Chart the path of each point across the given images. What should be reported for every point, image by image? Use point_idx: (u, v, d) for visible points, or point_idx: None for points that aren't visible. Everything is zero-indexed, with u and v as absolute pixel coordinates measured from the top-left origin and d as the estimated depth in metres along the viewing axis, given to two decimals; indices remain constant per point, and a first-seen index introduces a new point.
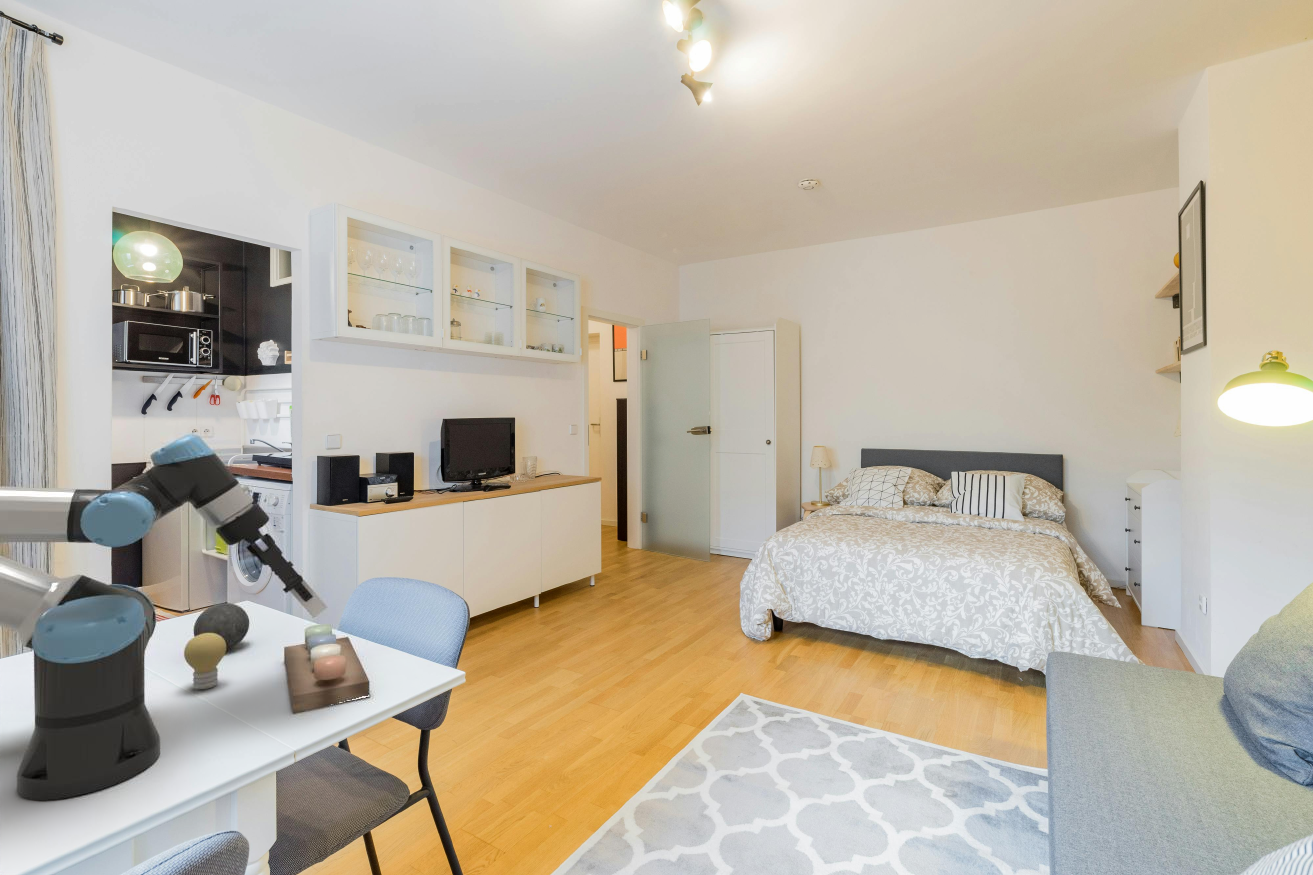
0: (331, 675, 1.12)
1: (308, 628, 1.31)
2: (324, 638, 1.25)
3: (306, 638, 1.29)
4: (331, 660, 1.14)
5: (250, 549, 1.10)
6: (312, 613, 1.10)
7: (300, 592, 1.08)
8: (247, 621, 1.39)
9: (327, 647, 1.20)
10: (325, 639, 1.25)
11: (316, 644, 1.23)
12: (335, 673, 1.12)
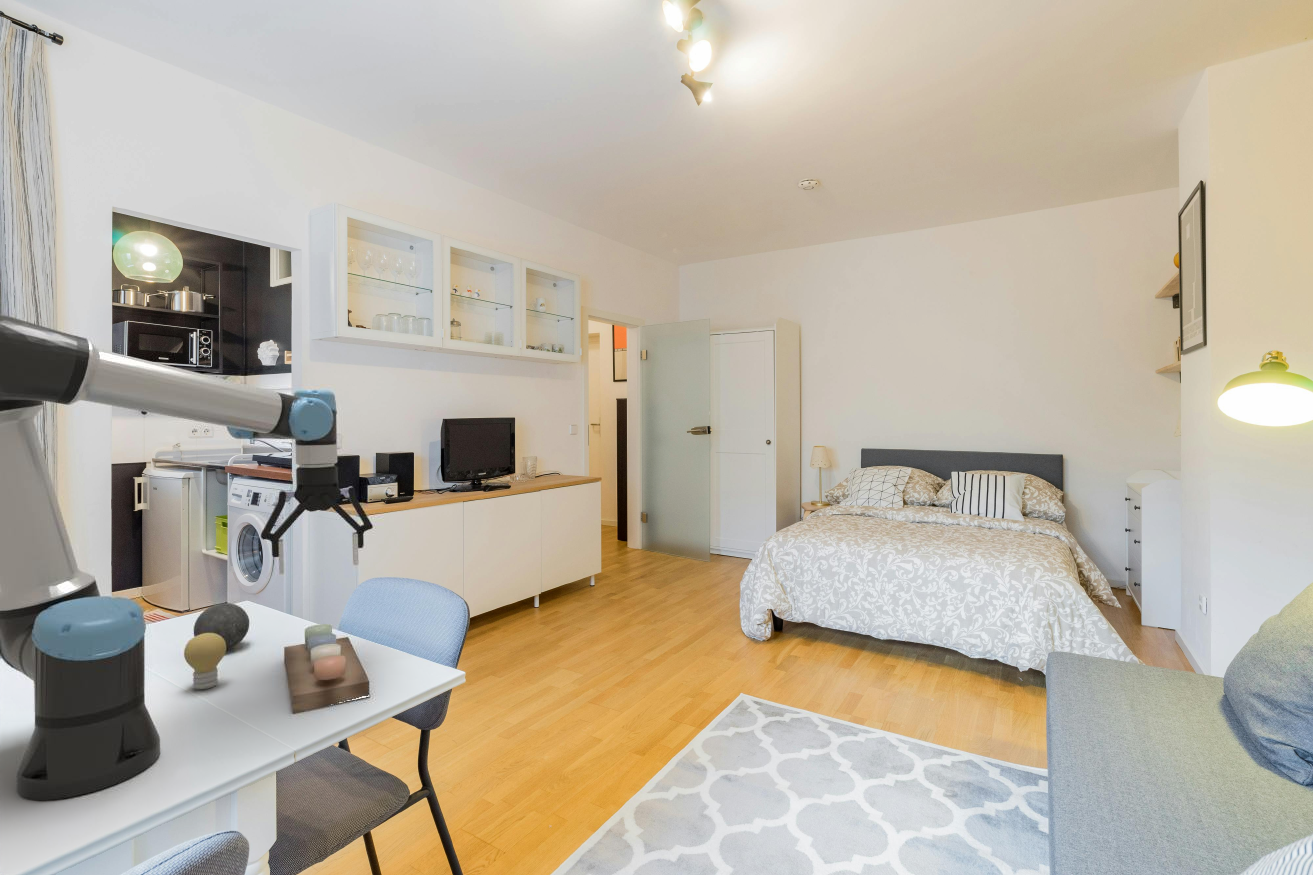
0: (331, 675, 1.12)
1: (308, 628, 1.31)
2: (324, 638, 1.25)
3: (306, 638, 1.29)
4: (331, 660, 1.14)
5: (328, 495, 1.30)
6: None
7: None
8: (247, 621, 1.39)
9: (327, 647, 1.20)
10: (325, 639, 1.25)
11: (316, 644, 1.23)
12: (335, 673, 1.12)
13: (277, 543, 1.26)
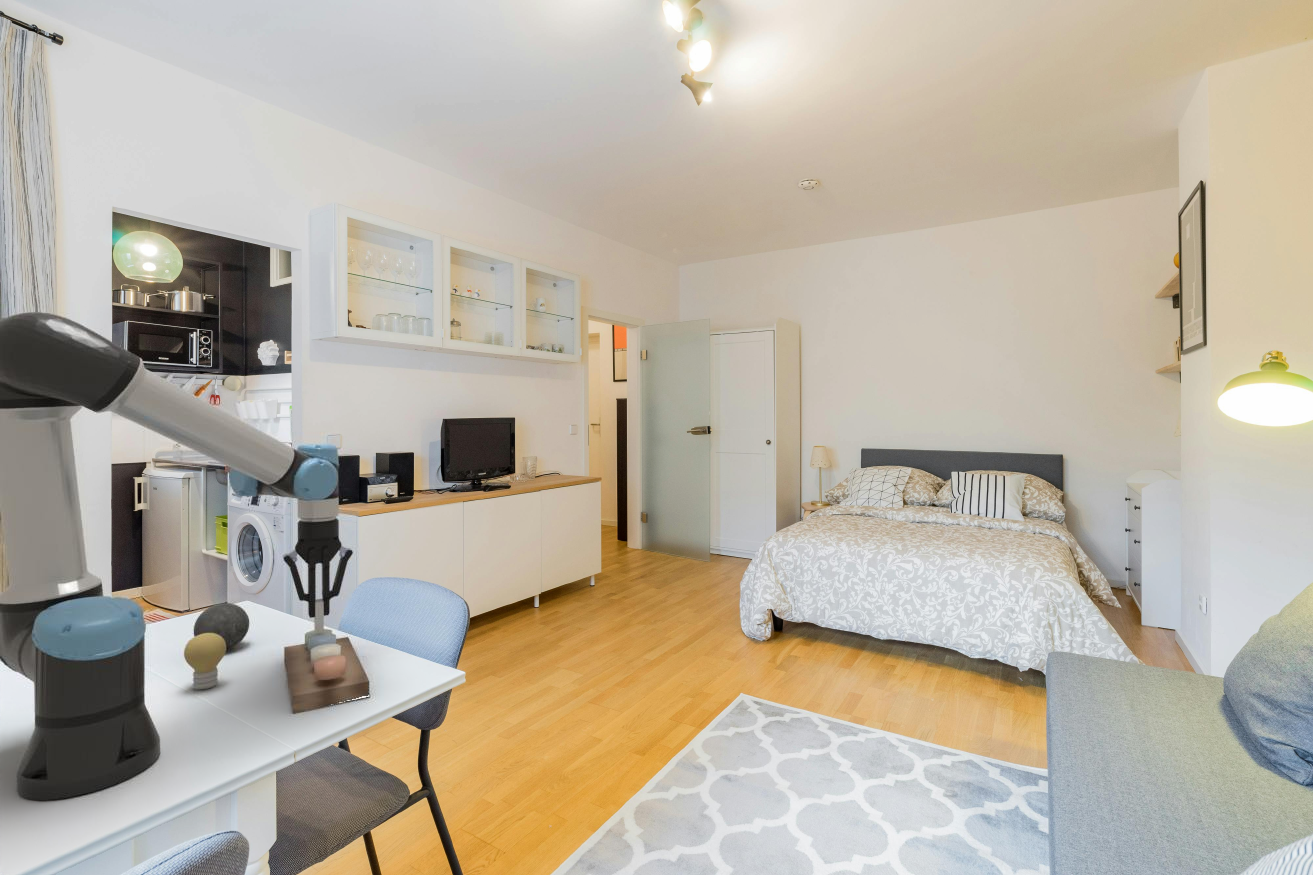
0: (331, 675, 1.12)
1: (308, 633, 1.31)
2: (324, 638, 1.25)
3: (306, 643, 1.29)
4: (331, 660, 1.14)
5: (329, 550, 1.31)
6: (323, 628, 1.31)
7: None
8: (247, 621, 1.39)
9: (327, 647, 1.20)
10: (325, 639, 1.25)
11: (316, 644, 1.23)
12: (335, 673, 1.12)
13: (314, 604, 1.30)
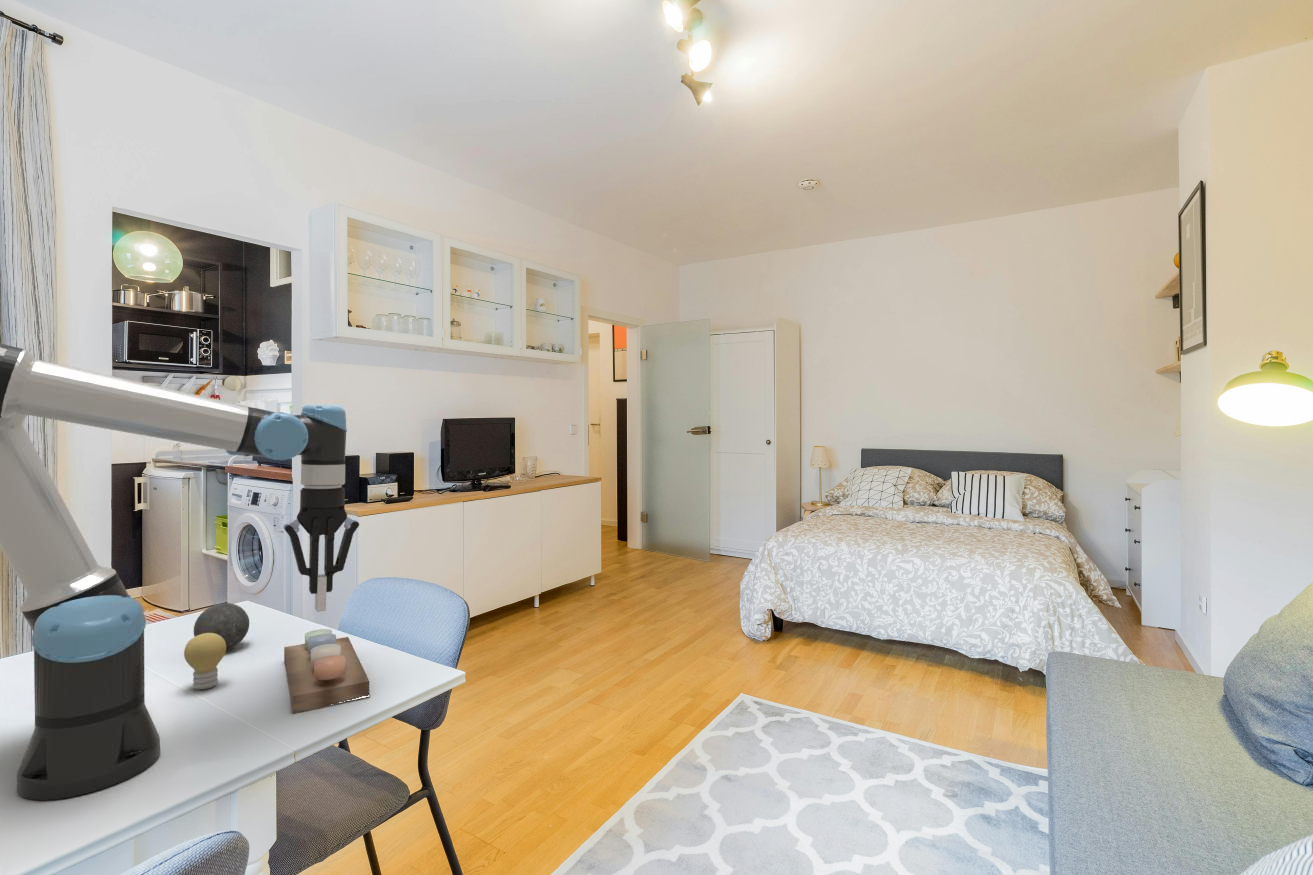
0: (331, 675, 1.12)
1: (308, 633, 1.31)
2: (324, 638, 1.25)
3: (306, 643, 1.29)
4: (331, 660, 1.14)
5: (334, 520, 1.21)
6: (325, 606, 1.21)
7: None
8: (247, 621, 1.39)
9: (327, 647, 1.20)
10: (325, 639, 1.25)
11: (316, 644, 1.23)
12: (335, 673, 1.12)
13: (316, 579, 1.20)
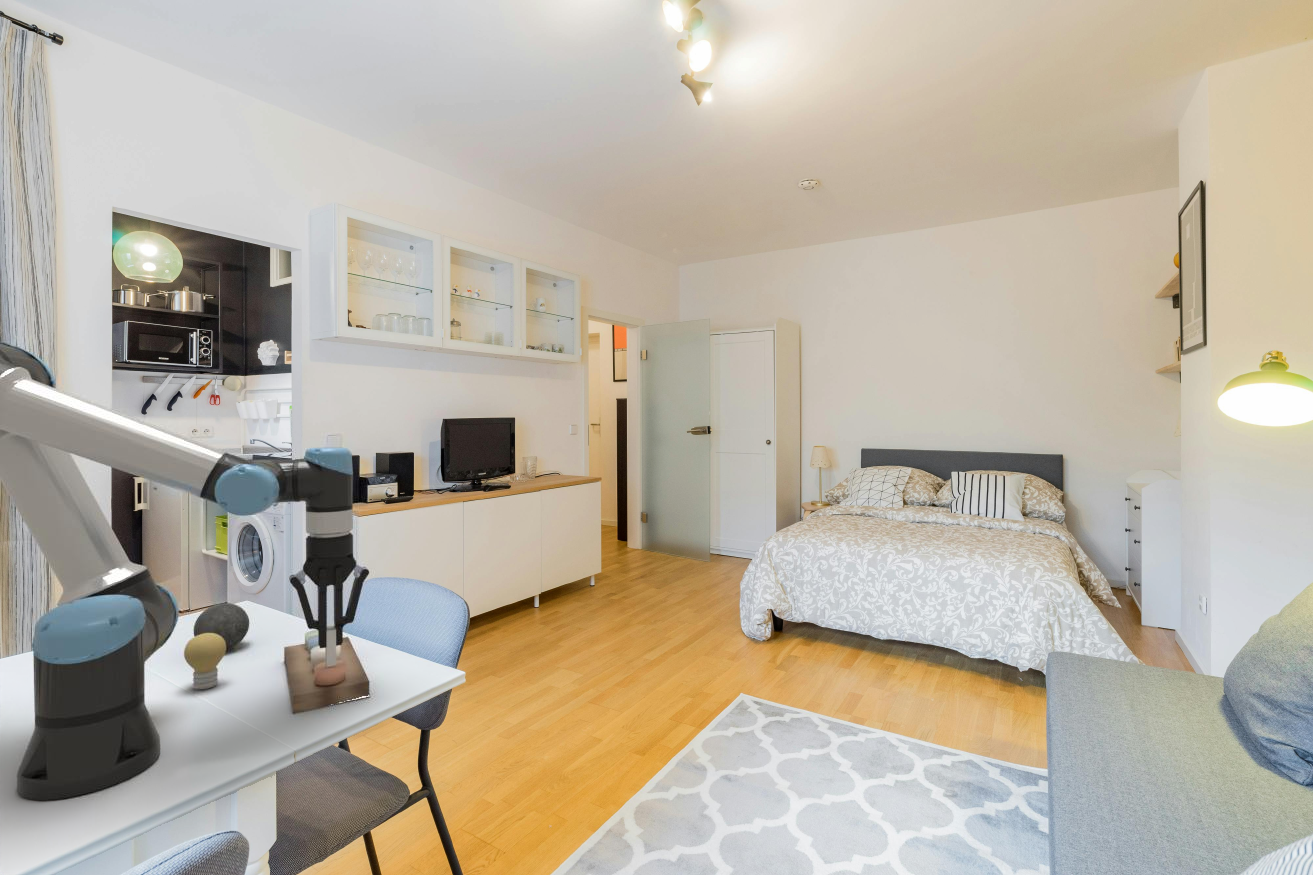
0: (331, 681, 1.12)
1: (308, 633, 1.31)
2: None
3: (306, 643, 1.29)
4: None
5: (342, 570, 1.13)
6: None
7: None
8: (247, 621, 1.39)
9: None
10: None
11: (316, 644, 1.23)
12: (335, 679, 1.12)
13: (325, 632, 1.13)
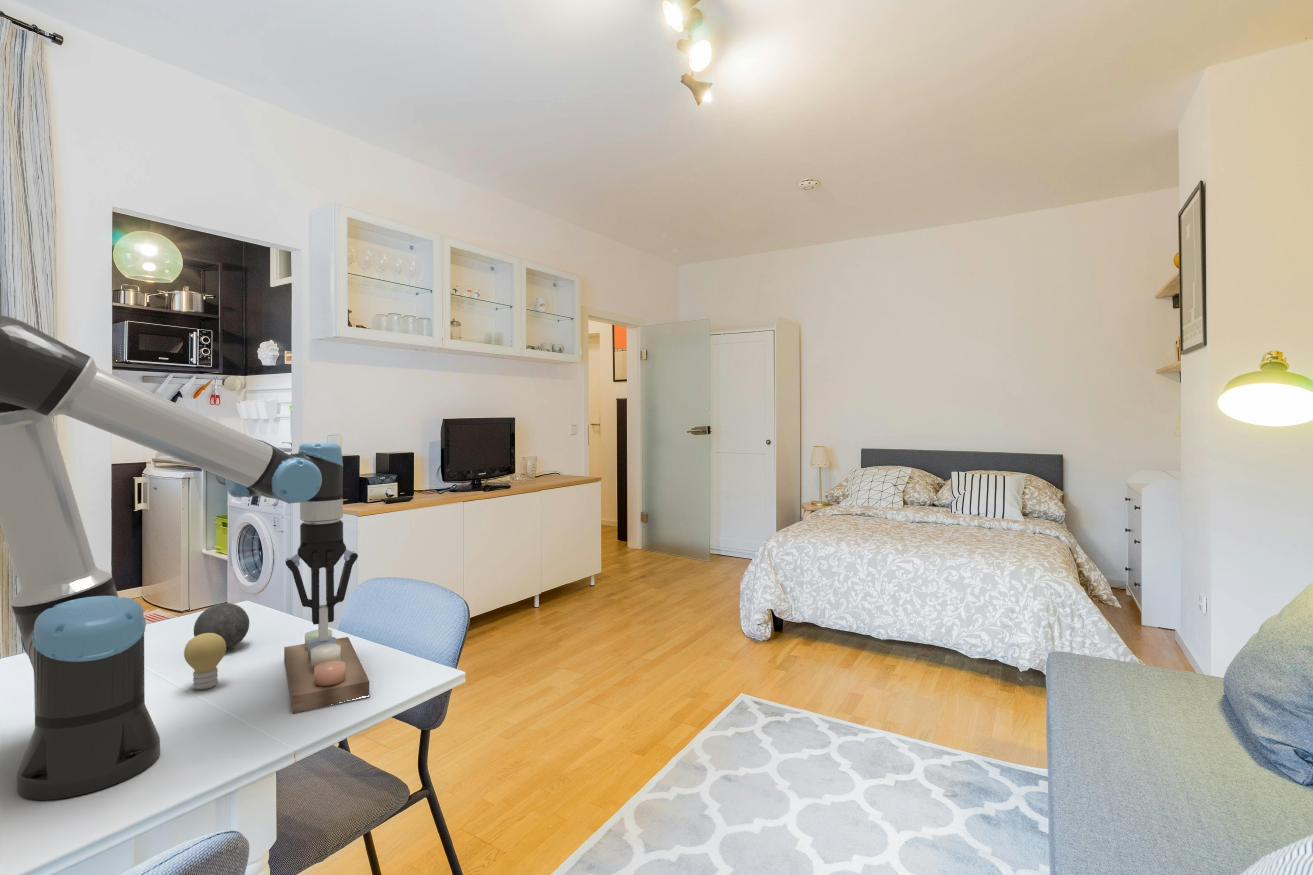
0: (331, 681, 1.12)
1: (308, 633, 1.31)
2: None
3: (306, 643, 1.29)
4: (331, 666, 1.14)
5: (333, 553, 1.25)
6: None
7: (333, 611, 1.26)
8: (247, 621, 1.39)
9: (327, 647, 1.20)
10: (325, 642, 1.25)
11: None
12: (335, 679, 1.12)
13: (317, 610, 1.24)
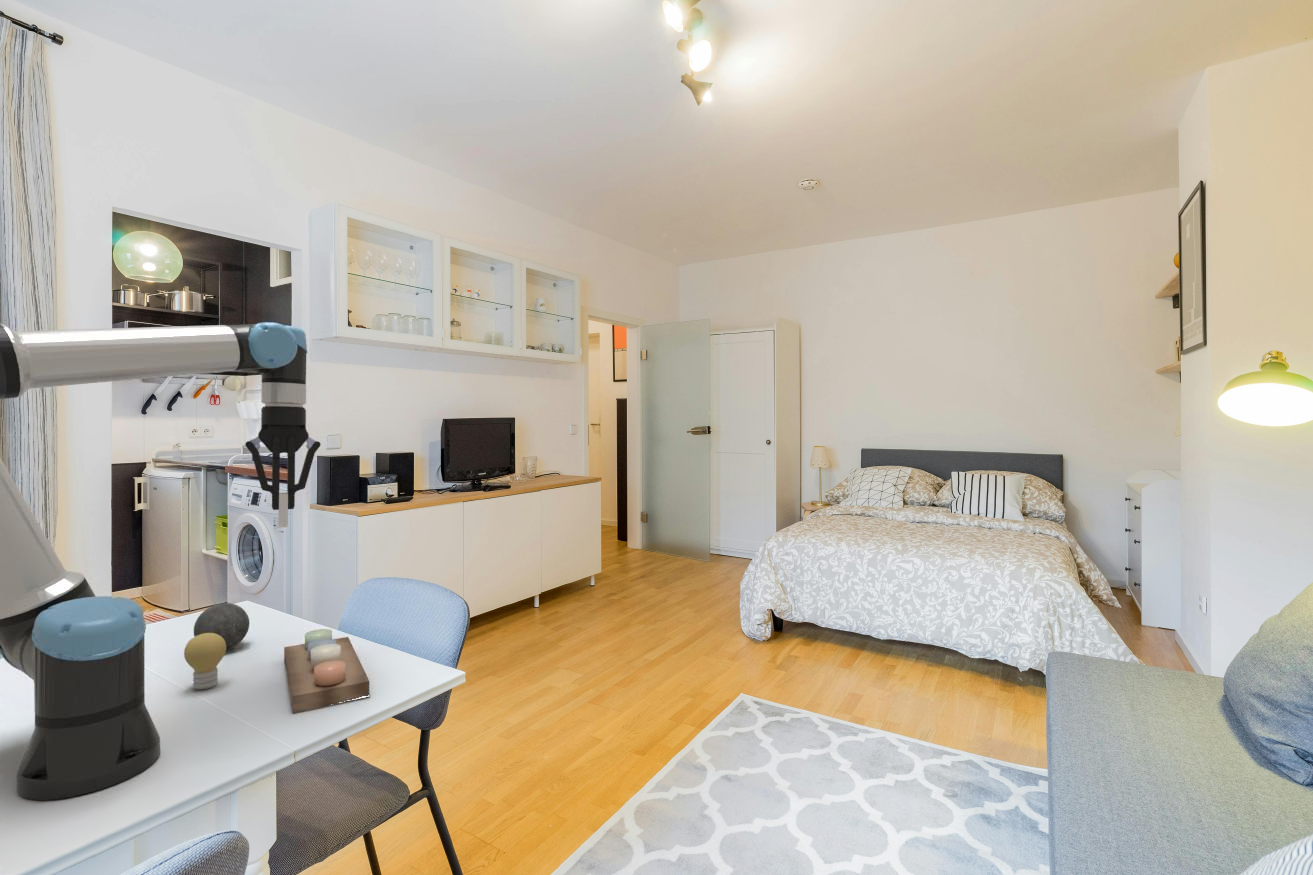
0: (331, 681, 1.12)
1: (308, 633, 1.31)
2: (324, 643, 1.25)
3: (306, 643, 1.29)
4: (331, 666, 1.14)
5: (295, 439, 1.23)
6: (287, 522, 1.24)
7: None
8: (247, 621, 1.39)
9: (327, 647, 1.20)
10: None
11: None
12: (335, 679, 1.12)
13: (277, 495, 1.23)
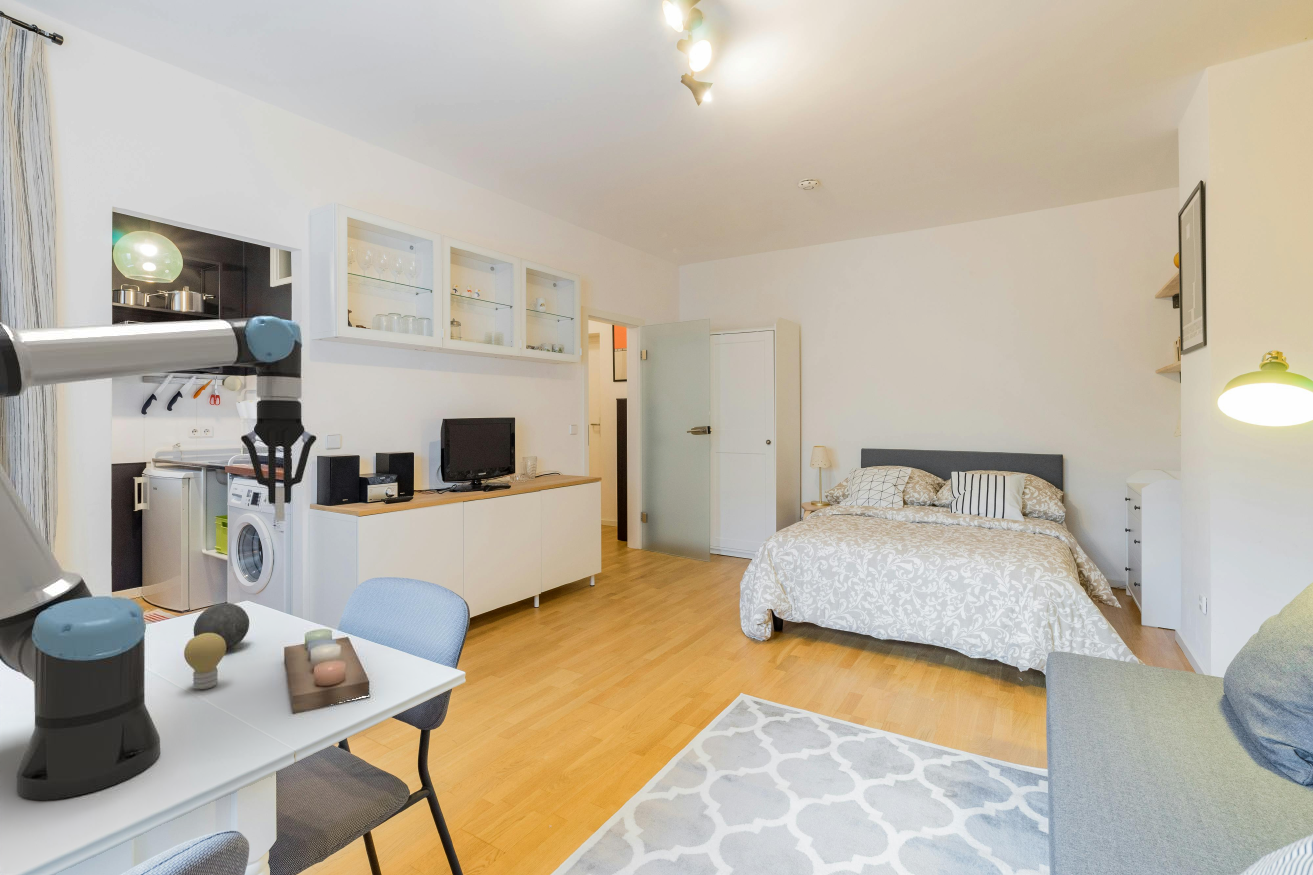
0: (331, 681, 1.12)
1: (308, 633, 1.31)
2: (324, 643, 1.25)
3: (306, 643, 1.29)
4: (331, 666, 1.14)
5: (291, 433, 1.23)
6: (284, 516, 1.24)
7: (290, 492, 1.25)
8: (247, 621, 1.39)
9: (327, 647, 1.20)
10: None
11: None
12: (335, 679, 1.12)
13: (274, 489, 1.23)
